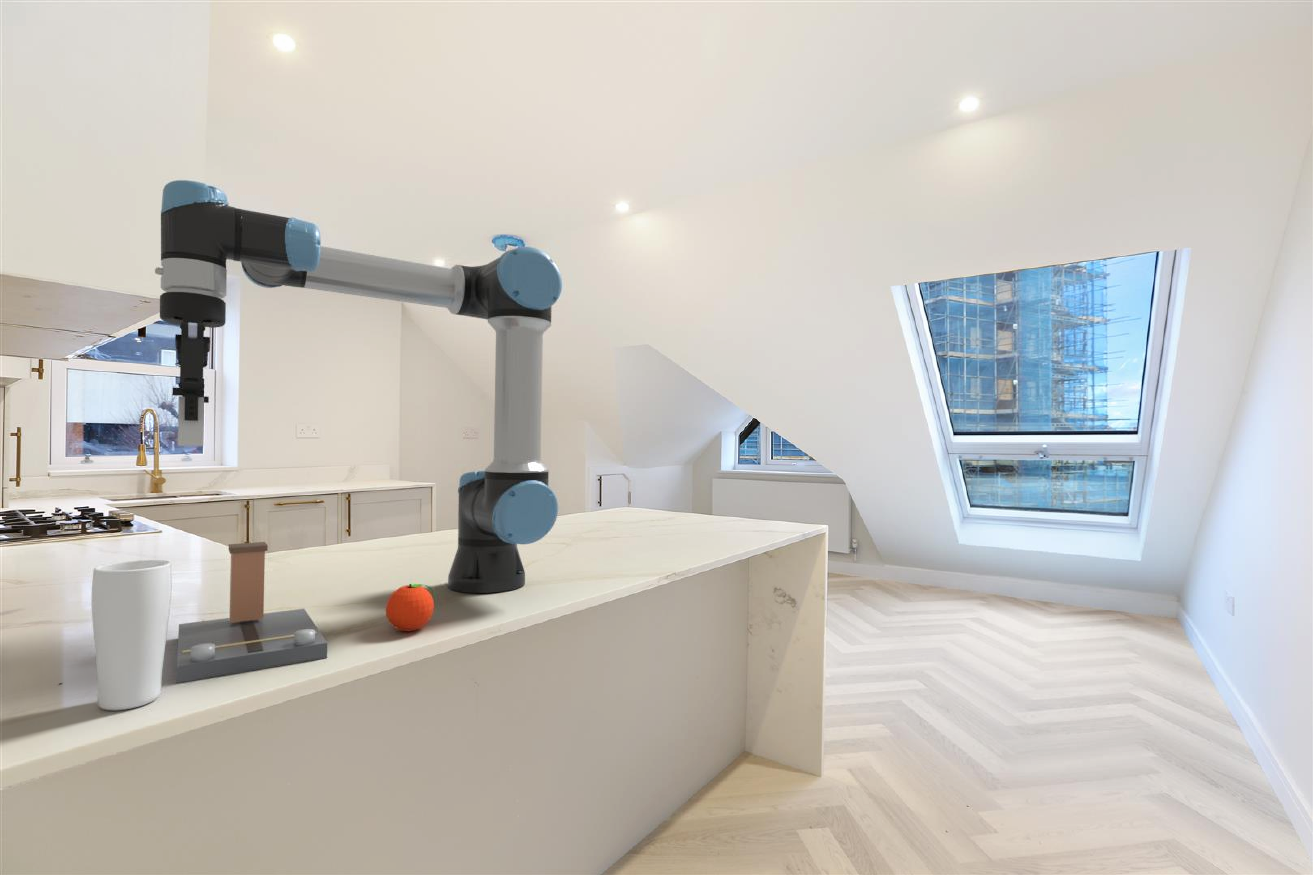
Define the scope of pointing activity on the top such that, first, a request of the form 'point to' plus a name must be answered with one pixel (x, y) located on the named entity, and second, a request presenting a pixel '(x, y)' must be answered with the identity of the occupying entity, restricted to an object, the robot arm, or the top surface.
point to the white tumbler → (130, 630)
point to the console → (247, 644)
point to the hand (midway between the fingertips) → (191, 446)
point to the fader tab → (247, 581)
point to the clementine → (410, 607)
